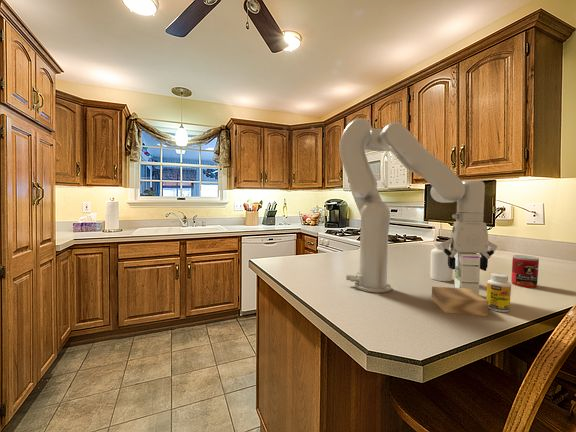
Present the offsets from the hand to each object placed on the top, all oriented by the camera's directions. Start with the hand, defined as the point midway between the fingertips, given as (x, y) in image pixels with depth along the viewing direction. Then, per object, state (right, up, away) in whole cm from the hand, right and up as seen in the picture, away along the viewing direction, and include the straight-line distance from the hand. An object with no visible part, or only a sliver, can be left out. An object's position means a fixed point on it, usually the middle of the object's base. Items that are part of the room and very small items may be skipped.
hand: (467, 269), depth 94 cm
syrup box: (0, -9, 0) cm, 9 cm away
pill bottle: (+2, -8, +20) cm, 22 cm away
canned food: (+31, -9, +14) cm, 35 cm away
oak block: (-10, -10, -10) cm, 17 cm away
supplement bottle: (+1, -10, -12) cm, 15 cm away
